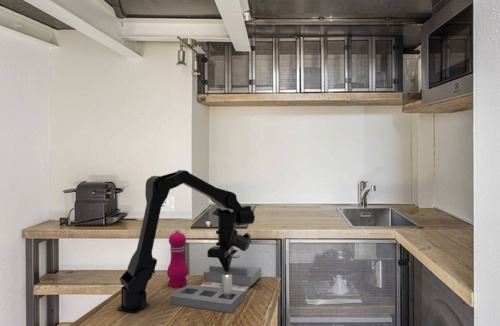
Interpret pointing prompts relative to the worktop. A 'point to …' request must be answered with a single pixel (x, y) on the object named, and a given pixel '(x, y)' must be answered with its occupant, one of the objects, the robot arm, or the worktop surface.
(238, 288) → the plate
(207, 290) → the hole board
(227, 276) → the pin
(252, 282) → the cover
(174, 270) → the pepper mill
